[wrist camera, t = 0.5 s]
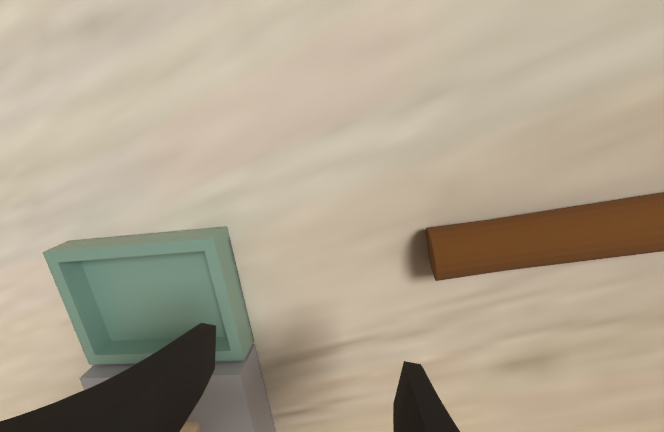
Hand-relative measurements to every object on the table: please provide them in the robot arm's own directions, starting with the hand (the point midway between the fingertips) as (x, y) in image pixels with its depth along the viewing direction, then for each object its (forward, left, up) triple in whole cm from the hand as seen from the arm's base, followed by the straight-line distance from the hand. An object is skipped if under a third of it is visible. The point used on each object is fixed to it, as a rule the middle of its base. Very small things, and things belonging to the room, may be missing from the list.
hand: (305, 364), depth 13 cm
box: (-2, +13, -10) cm, 16 cm away
